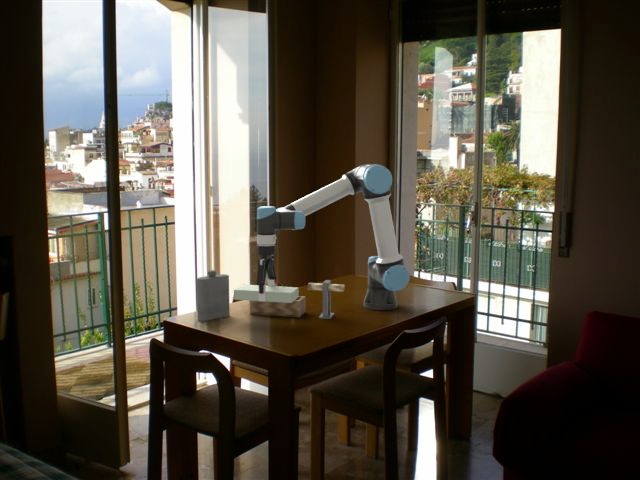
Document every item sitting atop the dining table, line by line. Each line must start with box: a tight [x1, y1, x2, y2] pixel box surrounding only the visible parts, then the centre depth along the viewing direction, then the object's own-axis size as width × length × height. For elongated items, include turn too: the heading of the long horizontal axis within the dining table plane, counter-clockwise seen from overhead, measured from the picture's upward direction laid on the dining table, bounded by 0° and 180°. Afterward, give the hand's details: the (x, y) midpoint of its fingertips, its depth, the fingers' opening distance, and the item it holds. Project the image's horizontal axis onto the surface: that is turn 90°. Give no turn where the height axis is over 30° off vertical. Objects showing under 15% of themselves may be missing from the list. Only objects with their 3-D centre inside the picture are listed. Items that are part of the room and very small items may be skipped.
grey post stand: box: [318, 279, 335, 320], centre depth 290 cm, size 5×8×15 cm, turn 166°
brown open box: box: [249, 295, 306, 318], centre depth 295 cm, size 22×9×7 cm, turn 76°
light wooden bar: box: [307, 282, 346, 293], centre depth 289 cm, size 15×3×3 cm, turn 76°
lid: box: [233, 284, 300, 303], centre depth 280 cm, size 24×11×4 cm, turn 76°
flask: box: [196, 269, 230, 322], centre depth 286 cm, size 15×6×20 cm, turn 133°
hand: (266, 298), depth 280 cm, fingers closed on lid, 11 cm apart
